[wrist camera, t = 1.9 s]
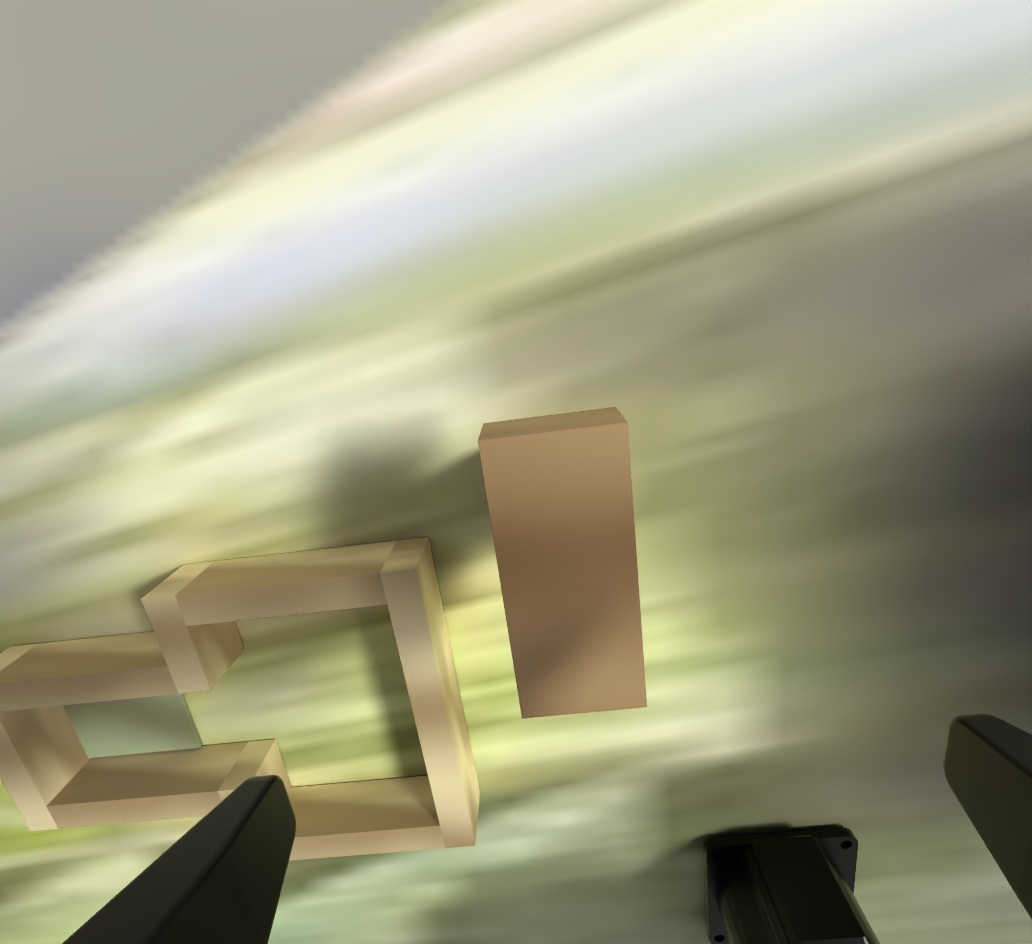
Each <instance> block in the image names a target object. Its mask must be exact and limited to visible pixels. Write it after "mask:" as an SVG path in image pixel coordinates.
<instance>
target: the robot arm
mask: <svg viewBox="0 0 1032 944" xmlns="http://www.w3.org/2000/svg"><path fill="white" fill-rule="evenodd" d="M943 767H944V773H945V776H946V779H947V781H948V783H949V785H950V787H951V789H952V791H953V792H954V794H955V795H956V797H957V799H958V800H959V802H960V804H961V805H962V807H963V809H964V810H965V812H966V813H967V815H968V817H969V818H970V820H971V822H972V823H973V825H974V827H975V828H976V830H977V831H978V833H979V835H980V836H981V838H982V840H983V841H984V843H985V845H986V846H987V848H988V850H989V851H990V853H991V854H992V856H993V858H994V859H995V861H996V863H997V864H998V866H999V868H1000V869H1001V871H1002V872H1003V874H1004V876H1005V877H1006V879H1007V881H1008V882H1009V884H1010V886H1011V887H1012V889H1013V890H1014V892H1015V894H1016V895H1017V897H1018V899H1019V900H1020V902H1021V903H1022V905H1023V906H1024V908H1025V909H1026V911H1027V912H1028V914H1029V916H1030V917H1031V919H1032V735H1031V734H1029V733H1027V732H1025V731H1023V730H1021V729H1019V728H1017V727H1015V726H1013V725H1011V724H1009V723H1007V722H1005V721H1003V720H1001V719H999V718H996V717H994V716H991V715H987V714H977V715H965V716H957V717H954V718H953V719H952V720H951V722H950V724H949V729H948V735H947V742H946V748H945V755H944V761H943ZM295 834H296V818H295V814H294V811H293V808H292V805H291V802H290V799H289V796H288V793H287V790H286V788H285V785H284V782H283V780H282V779H281V778H280V777H279V776H278V775H267V776H255V777H251V778H249V779H247V780H245V781H244V782H243V783H242V784H241V785H239V786H238V787H237V788H236V789H235V790H234V791H233V792H232V793H230V794H229V795H228V796H227V797H226V798H225V799H224V800H223V801H221V802H220V803H219V804H218V805H217V806H216V807H215V808H214V809H212V810H211V811H210V812H209V813H208V814H207V815H206V816H205V817H204V818H202V819H201V820H200V821H199V822H198V823H197V824H196V825H195V826H193V827H192V828H191V829H190V830H189V831H188V832H187V833H186V834H184V835H183V836H182V837H181V838H180V839H179V840H178V841H177V842H175V843H174V844H173V845H172V846H171V847H170V848H169V849H168V850H167V851H165V852H164V853H163V854H162V855H161V856H160V857H159V858H158V859H156V860H155V861H154V862H153V863H152V864H151V865H150V866H149V867H147V868H146V869H145V870H144V871H143V872H142V873H141V874H140V875H138V876H137V877H136V878H135V879H134V880H133V881H132V882H131V883H129V884H128V885H127V886H126V887H125V888H124V889H123V890H122V891H121V892H119V893H118V894H117V895H116V896H115V897H114V898H113V899H112V900H110V901H109V902H108V903H107V904H106V905H105V906H104V907H103V908H101V909H100V910H99V911H98V912H97V913H96V914H95V915H94V916H92V917H91V918H90V919H89V920H88V921H87V922H86V923H85V924H84V925H82V926H81V927H80V928H79V929H78V930H77V931H76V932H75V933H73V934H72V935H71V936H70V937H69V938H68V939H67V940H66V941H64V942H63V943H62V944H268V940H269V937H270V933H271V929H272V925H273V921H274V917H275V913H276V909H277V905H278V901H279V898H280V894H281V890H282V886H283V882H284V878H285V874H286V870H287V866H288V862H289V859H290V855H291V851H292V847H293V843H294V839H295ZM857 850H858V841H857V839H856V838H855V836H854V834H853V833H852V831H851V830H850V829H847V828H832V829H819V830H806V831H793V832H781V833H768V834H755V835H742V836H729V837H716V838H711V839H709V840H707V841H706V842H705V843H704V873H705V906H706V931H707V934H708V938H709V941H710V942H711V943H712V944H880V943H879V941H878V939H877V937H876V935H875V934H874V932H873V930H872V928H871V926H870V924H869V923H868V921H867V919H866V917H865V915H864V913H863V911H862V910H861V908H860V906H859V904H858V902H857V900H856V899H855V897H854V895H853V893H854V882H855V871H856V860H857Z"/></svg>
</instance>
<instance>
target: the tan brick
mask: <svg viewBox="0 0 1032 944" xmlns="http://www.w3.org/2000/svg"><path fill="white" fill-rule="evenodd" d="M478 445H479V451H480V457H481V464H482V470H483V476H484V482H485V489H486V495H487V501H488V508H489V514H490V520H491V526H492V533H493V539H494V545H495V551H496V558H497V564H498V570H499V577H500V583H501V589H502V595H503V602H504V608H505V614H506V621H507V627H508V633H509V639H510V646H511V652H512V658H513V664H514V671H515V677H516V683H517V690H518V696H519V702H520V708H521V715H522V718H533V717H544V716H555V715H566V714H577V713H588V712H599V711H610V710H621V709H632V708H643V707H647V701H646V687H645V672H644V657H643V643H642V628H641V614H640V599H639V584H638V570H637V555H636V540H635V526H634V511H633V497H632V482H631V467H630V453H629V438H628V423H627V421H626V420H625V419H624V417H623V416H622V415H621V413H620V412H619V411H618V410H617V408H616V407H612V408H604V409H596V410H588V411H580V412H572V413H564V414H556V415H548V416H540V417H532V418H524V419H516V420H508V421H500V422H492V423H484V424H483V427H482V430H481V433H480V436H479V439H478Z"/></svg>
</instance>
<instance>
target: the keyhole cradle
mask: <svg viewBox="0 0 1032 944" xmlns="http://www.w3.org/2000/svg"><path fill="white" fill-rule="evenodd" d="M141 601H142V604H143V606H144V609H145V611H146V614H147V616H148V619H149V621H150V624H151V626H152V629H153V631H152V632H142V633H133V634H124V635H114V636H105V637H95V638H86V639H77V640H67V641H58V642H48V643H39V644H30V645H20V646H11V647H9V648H7V649H6V650H4V651H3V652H2V653H0V779H1V780H2V782H3V784H4V786H5V788H6V789H7V791H8V793H9V795H10V796H11V798H12V800H13V802H14V804H15V805H16V807H17V809H18V811H19V812H20V814H21V816H22V818H23V819H24V821H25V823H26V825H27V827H28V828H29V830H30V831H37V830H49V829H61V828H72V827H84V826H96V825H108V824H119V823H131V822H143V821H155V820H167V819H178V818H190V817H202V816H206V815H207V814H208V813H209V812H210V811H211V810H212V809H214V808H215V807H216V806H217V805H218V804H219V803H220V802H221V801H223V800H224V799H225V798H226V797H227V796H228V795H229V794H230V793H232V792H233V791H234V790H235V789H236V788H237V787H238V786H239V785H241V784H242V783H243V782H244V781H245V780H247V779H249V778H251V777H255V776H267V775H278V776H279V777H280V778H281V779H282V780H283V782H284V785H285V788H286V790H287V793H288V796H289V799H290V802H291V805H292V808H293V811H294V814H295V818H296V834H295V839H294V843H293V847H292V851H291V855H290V859H289V860H300V859H312V858H325V857H338V856H350V855H363V854H375V853H388V852H401V851H413V850H426V849H439V848H451V847H464V846H475V840H476V830H477V819H478V808H479V797H480V790H479V785H478V780H477V775H476V770H475V765H474V760H473V755H472V750H471V745H470V740H469V735H468V730H467V725H466V720H465V716H464V711H463V706H462V701H461V696H460V691H459V686H458V681H457V676H456V671H455V666H454V661H453V656H452V651H451V646H450V641H449V636H448V631H447V626H446V621H445V616H444V611H443V606H442V601H441V596H440V591H439V586H438V581H437V576H436V571H435V566H434V561H433V556H432V551H431V546H430V541H429V537H424V538H415V539H406V540H397V541H388V542H380V543H371V544H362V545H353V546H344V547H335V548H327V549H318V550H309V551H300V552H291V553H283V554H274V555H265V556H256V557H247V558H238V559H230V560H221V561H212V562H203V563H194V564H186V565H183V566H181V567H180V568H179V569H178V570H176V571H175V572H174V573H173V574H171V575H170V576H169V577H168V578H166V579H165V580H164V581H163V582H161V583H160V584H159V585H158V586H156V587H155V588H154V589H153V590H151V591H150V592H149V593H148V594H146V595H145V596H144V597H143V598H141ZM379 605H388V609H389V613H390V618H391V622H392V626H393V630H394V634H395V639H396V643H397V647H398V651H399V655H400V660H401V664H402V668H403V672H404V676H405V681H406V685H407V689H408V693H409V698H410V702H411V706H412V710H413V714H414V719H415V723H416V727H417V731H418V735H419V740H420V744H421V748H422V752H423V756H424V761H425V765H426V769H427V773H428V776H417V777H405V778H394V779H382V780H371V781H359V782H348V783H336V784H325V785H313V786H302V787H292V786H291V783H290V780H289V777H288V774H287V772H286V769H285V766H284V763H283V760H282V757H281V754H280V751H279V748H278V745H277V742H276V740H275V739H272V740H261V741H250V742H240V743H229V744H218V745H207V746H201V745H202V742H201V739H200V737H199V734H198V732H197V729H196V727H195V724H194V722H193V719H192V716H191V714H190V711H189V709H188V706H187V704H186V701H185V699H184V696H183V694H182V693H192V692H202V691H211V690H212V688H213V687H214V686H215V685H216V683H217V682H218V681H219V680H220V678H221V677H222V676H223V675H224V673H225V672H226V671H227V669H228V668H229V667H230V666H231V664H232V663H233V662H234V661H235V659H236V658H237V657H238V656H239V654H240V653H241V652H242V650H243V649H244V646H243V644H242V641H241V638H240V635H239V632H238V629H237V626H236V623H235V621H239V620H248V619H257V618H267V617H276V616H286V615H295V614H304V613H314V612H323V611H333V610H342V609H351V608H361V607H370V606H379Z"/></svg>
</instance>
